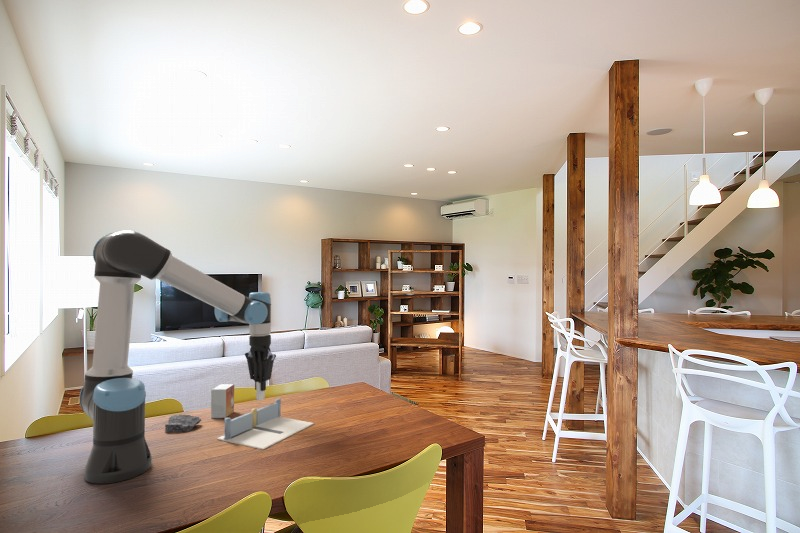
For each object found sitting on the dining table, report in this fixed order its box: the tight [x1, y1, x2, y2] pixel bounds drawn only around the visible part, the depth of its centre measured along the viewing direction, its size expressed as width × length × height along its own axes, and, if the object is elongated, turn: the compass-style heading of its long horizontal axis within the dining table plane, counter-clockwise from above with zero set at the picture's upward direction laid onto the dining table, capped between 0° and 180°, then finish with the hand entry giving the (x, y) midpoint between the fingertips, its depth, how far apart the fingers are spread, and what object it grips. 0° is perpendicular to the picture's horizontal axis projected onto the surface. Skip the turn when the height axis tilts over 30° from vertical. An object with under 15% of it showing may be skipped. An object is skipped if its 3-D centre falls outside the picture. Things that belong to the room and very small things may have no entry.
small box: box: [210, 383, 235, 419], centre depth 164 cm, size 8×6×10 cm
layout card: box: [216, 416, 314, 451], centre depth 147 cm, size 25×19×1 cm
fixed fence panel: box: [224, 412, 252, 440], centre depth 143 cm, size 11×2×7 cm, turn 155°
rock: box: [164, 414, 202, 434], centre depth 150 cm, size 8×10×4 cm
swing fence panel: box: [251, 398, 282, 427], centre depth 155 cm, size 14×2×6 cm, turn 155°
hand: (260, 399), depth 161 cm, fingers closed
